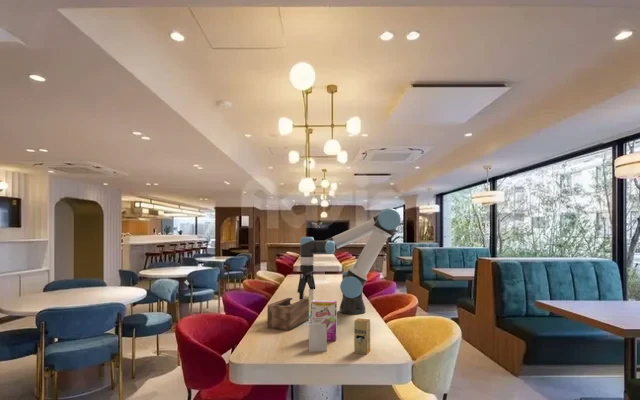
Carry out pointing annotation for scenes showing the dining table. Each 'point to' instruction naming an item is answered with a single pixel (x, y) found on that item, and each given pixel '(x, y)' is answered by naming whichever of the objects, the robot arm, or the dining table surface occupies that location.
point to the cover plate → (309, 304)
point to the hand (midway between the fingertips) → (306, 303)
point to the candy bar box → (325, 316)
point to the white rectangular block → (317, 337)
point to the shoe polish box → (362, 336)
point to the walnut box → (287, 314)
